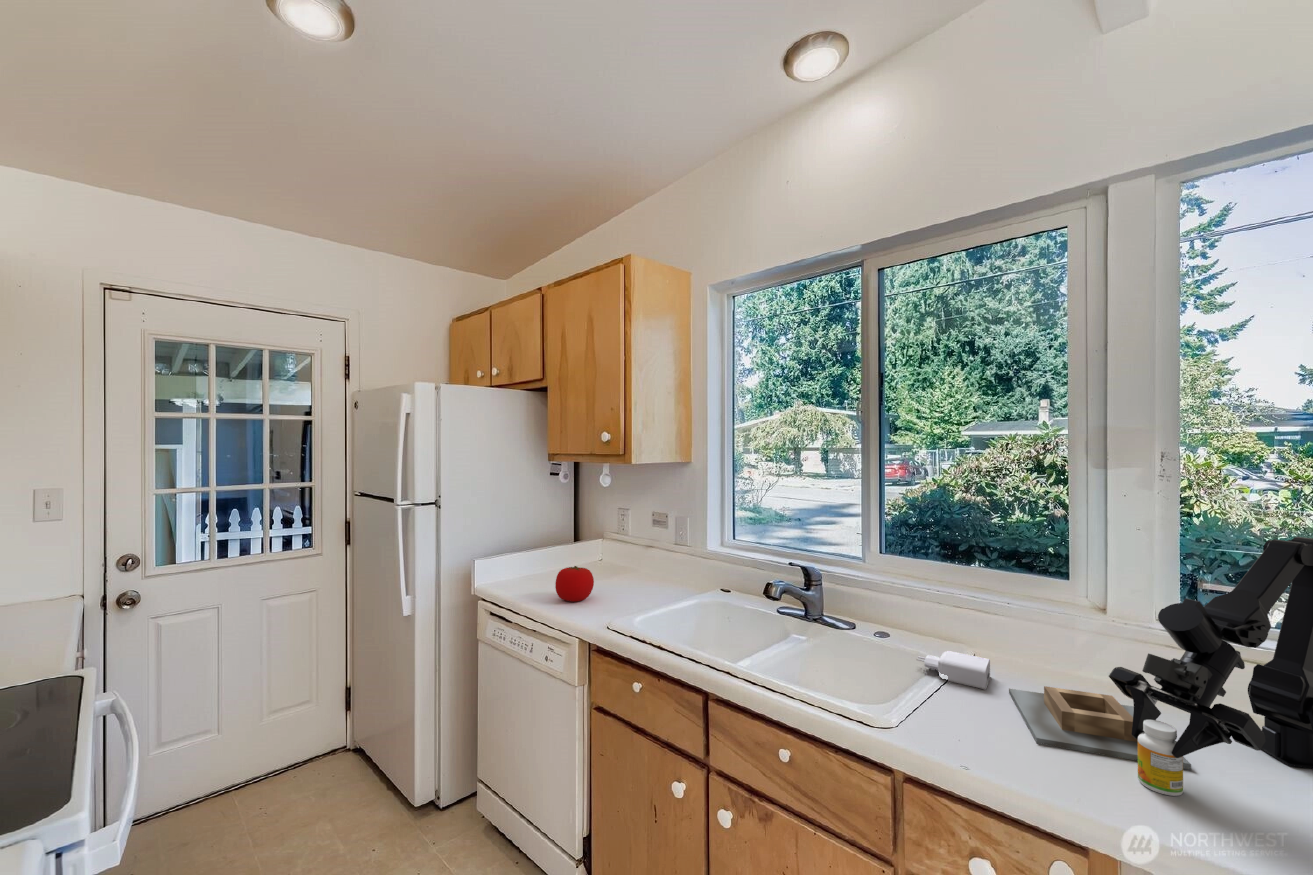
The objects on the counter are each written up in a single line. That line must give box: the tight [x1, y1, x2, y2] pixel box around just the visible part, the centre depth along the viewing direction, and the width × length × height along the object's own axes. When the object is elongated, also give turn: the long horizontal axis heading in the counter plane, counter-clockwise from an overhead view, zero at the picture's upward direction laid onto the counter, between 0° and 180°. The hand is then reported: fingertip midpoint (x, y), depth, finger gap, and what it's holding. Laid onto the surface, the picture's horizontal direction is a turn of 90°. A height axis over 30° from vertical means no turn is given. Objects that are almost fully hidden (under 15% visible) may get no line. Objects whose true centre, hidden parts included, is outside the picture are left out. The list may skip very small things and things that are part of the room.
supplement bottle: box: [1137, 719, 1184, 797], centre depth 88 cm, size 5×5×10 cm
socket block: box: [1008, 685, 1192, 771], centre depth 107 cm, size 22×22×4 cm
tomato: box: [554, 565, 595, 603], centre depth 192 cm, size 13×14×12 cm
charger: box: [915, 650, 991, 691], centre depth 131 cm, size 5×9×15 cm
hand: (1153, 746), depth 88 cm, fingers closed on supplement bottle, 5 cm apart
